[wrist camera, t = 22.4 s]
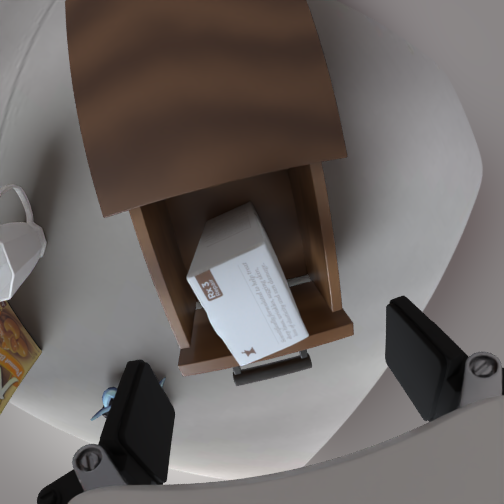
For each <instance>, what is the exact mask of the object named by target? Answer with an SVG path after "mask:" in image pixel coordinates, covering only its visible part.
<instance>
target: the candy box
mask: <svg viewBox="0 0 504 504" xmlns="http://www.w3.org/2000/svg"><path fill="white" fill-rule="evenodd" d="M41 353H42V351H41V350H40V349H39V347H38V346H37V345H36V343H35V342H34V341H33V339H32V338H31V336H30V335H29V334H28V332H27V331H26V329H25V328H24V327H23V325H22V324H21V322H20V321H19V319H18V318H17V316H16V315H15V313H14V312H13V310H12V309H11V307H10V305H9V303H8V301H7V300H5V301H1V302H0V414H1V413H2V411H3V409H4V408H5V406H6V405H7V403H8V402H9V400H10V398H11V397H12V395H13V394H14V392H15V391H16V389H17V388H18V386H19V385H20V383H21V382H22V380H23V379H24V377H25V376H26V374H27V373H28V371H29V370H30V369H31V367H32V366H33V364H34V363H35V362H36V360H37V359H38V357H39V356H40V355H41Z"/></svg>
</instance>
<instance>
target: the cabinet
mask: <svg viewBox="0 0 504 504" xmlns="http://www.w3.org/2000/svg"><path fill="white" fill-rule="evenodd" d="M65 9H66V29H67V42H68V52H69V61H70V70H71V77H72V84H73V91H74V97H75V103H76V108H77V114H78V119H79V124H80V129H81V134H82V138H83V143H84V147H85V152H86V156H87V160H88V164H89V168H90V172H91V176H92V179H93V183H94V187H95V190H96V194H97V197H98V201H99V204H100V207H101V210H102V214H103V217H104V218H106V217H109V216H112V215H115V214H118V213H122V212H125V211H128V210H131V209H134V208H137V207H141V206H144V205H147V204H151V203H154V202H157V201H161V200H164V199H168V198H171V197H175V196H178V195H182V194H185V193H189V192H193V191H196V190H200V189H204V188H208V187H212V186H215V185H219V184H223V183H227V182H231V181H236V180H240V179H244V178H248V177H252V176H257V175H261V174H266V173H270V172H275V171H279V170H284V169H289V168H293V167H298V166H303V165H308V164H313V163H319V162H324V161H329V160H335V159H341V158H346V157H347V152H346V146H345V141H344V136H343V131H342V126H341V121H340V117H339V112H338V108H337V104H336V99H335V95H334V91H333V87H332V83H331V79H330V75H329V72H328V68H327V64H326V61H325V57H324V53H323V50H322V47H321V43H320V40H319V37H318V34H317V30H316V27H315V24H314V21H313V18H312V15H311V12H310V9H309V6H308V3H307V1H306V0H66V1H65Z"/></svg>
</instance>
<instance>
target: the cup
mask: <svg viewBox="0 0 504 504" xmlns="http://www.w3.org/2000/svg"><path fill="white" fill-rule="evenodd" d="M12 188H13V189H15V191H16V192H17V194H18V195H19V197H20V199H21V202H22V204H23V206H24V209H25V212H26V216H27V222H26V223H25V222H12V223H7V224H2V225H0V302H1V301H5V300H9V299H11V298H12V296H13V295H14V294H15V292H16V291H17V290H18V288H19V287H20V286H21V284H22V283H23V282H24V280H25V279H26V278H27V277H28V276H29V274H30V273H31V272H32V270H33V268H34V267H35V265H36V263H37V262H38V259H39V258H41V257H43V255H44V251H45V248H46V244H47V242H46V239H45V236H44V233H43V230H42V228H41V227H40V226H38V225H37V224H36V223H34V222H33V213H32V209H31V206H30V203H29V201H28V199H27V196H26V194H25V192H24V191H23V189H22V188H21V187H20V186H18V185H13V184H8V185H6V186H3V187H1V188H0V197H1V195H2V194H4V193H5V192H6V191H8V190H10V189H12Z"/></svg>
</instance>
